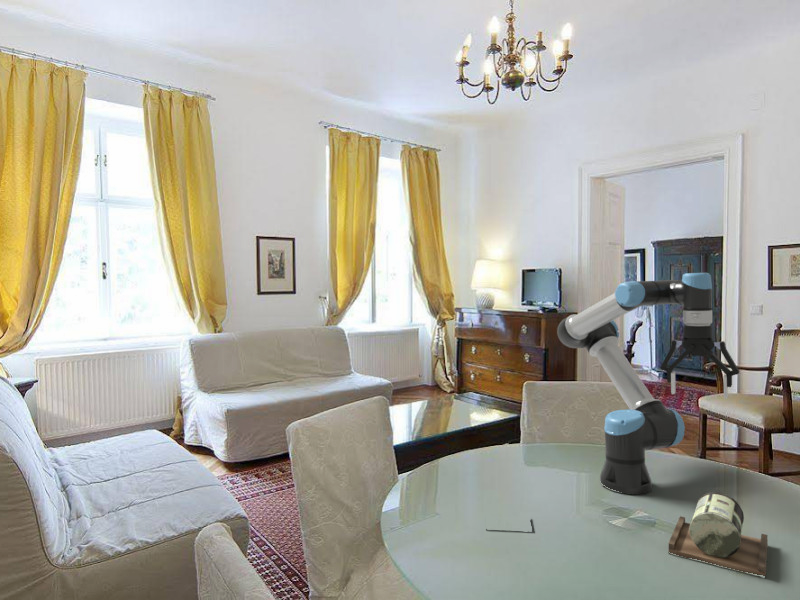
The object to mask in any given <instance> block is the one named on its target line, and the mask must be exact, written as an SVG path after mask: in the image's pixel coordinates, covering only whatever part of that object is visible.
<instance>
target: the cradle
mask: <svg viewBox="0 0 800 600" xmlns="http://www.w3.org/2000/svg"><path fill="white" fill-rule="evenodd" d="M689 528H690V523H689V522H686V517H685V516H681V515H680V516H679V517H678V521H677V522H676V525H675V527H674V530H673V532H672V535H670V539H669V542H668V553H669V552H670V553H673V554H676V555H679V556H683V557H686V558H685V559H687V558H692V559H697V560H701V561H705V562H708V563H712V564H716V565H719V566H723V567H727V568H731V569H735V570H739V571H743V572H748V573H753V574H757V575H763V576H765V575H767V562H766V561H768V560H767V558H768V534H764V533H761V534H760V538H757V537H753V536H748V535H744V534H741V539H740V547H739V549H738V550H737V552H736V553H735V554H733V555H731V556H729V557H723V558H719V557H714V556H711V555H708V554H706V553H705V552H703V551H702V550H700V549H699V548H698V547H697V546H696V545H695V543H694V542H693V540H692V538H691V536H690V532H689ZM679 556H678V557H679ZM683 557H682V558H683Z"/></svg>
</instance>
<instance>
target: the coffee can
mask: <svg viewBox="0 0 800 600" xmlns="http://www.w3.org/2000/svg"><path fill="white" fill-rule="evenodd" d="M744 516H745V515H744V511H743V509H742V507H741V505H740V504H739V503H738V502H737V500H735V499H734V498H733V497H731V496H730V495H727V494H726V493H721V492H718V491H711V492H707V493H705V494H703V495H701V496H700V497H699V498H698V499H697V501H696V505H695V510H694V514H693V515H692V519H691V521H690V523H689V524H690V528H689V532H690V536H691V538H692V540H693V542H694V543H695V545H696V546H697V547H698V548H699V549H700V550H702V551H703V552H705V553H706V554H708V555H711V556H714V557H719V558H723V557H729V556H731V555H733V554H735V553H736V552H737V550H738V549H739V547H740V539H741V535H742V529H743V524H744V519H745V517H744Z"/></svg>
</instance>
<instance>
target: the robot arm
mask: <svg viewBox="0 0 800 600" xmlns="http://www.w3.org/2000/svg"><path fill="white" fill-rule="evenodd" d="M712 284H713V282H712V275H711V274H710V273H709V272H688V273H687V272H686V273H683V274H682V278H681V279H659V280H643V281H642V280H641V281H639V280H638V281H637V280H635V281H634V280H631V281H626V282H621V283H620V284H618V286H617V287H616V289H615V291H614V293H612V294H610V295H608V296H606V297H604V299H601V300H600V301H598V302H596V303H594V304H593V305H591V306H590V307H587V308H586V309H585V310H582V311H581V312H579V313H578V314H576V313H575V314H570V315H568V316H567V317H565V318H564V319H562V320H561V321H560V323H559V324H558V326H557V329H556V330H557V331H556V332H557V333H556V334H557V337H558V340H559V341H560V342H561V343H562V344H563V345H564V346H566V347H567V348H570V349H586V350H587V353H588V354H589V356H591V357H593V358H594V357H595V358H597V360H598V362H599V363H600V365H601V366H602V368H603V369H604V372H606V374H607V376H608V378H609V380H610V381H611V382H612V384H613V385H614V387H615V388H616V390H617V392H618V394H619V395H620V396H621V398H622V400H623V401H624V403H625V404H626V405H627V407H628V408H627V409H617V410H613V411H611V412H609V413H607V414H606V415H605V417H604V418H605V419H604V426H603V427H604V428H603V429H604V442H605V443H604V445H605V447H604V448H605V449H604V450H605V452H604V454H605V461H604V464H603V467H602V468H601V469H602V470H601V473H600V476H599V477H600V479H599V480H600V481H601V483H602V484H603V485H605V486H606V487H608V488H610V489H613V490H616V491H619V492H622V493H621V494H624V493H628V494H627V495H642V494H647V493H650V492H651V491H652V488H653V486H652V483H653V482H652V479H651V476H650V473H649V469H648V468H647V465H646V452H647V451H651V450H658V449H664V448H671V447H672V446H676V445H678V444H680V443H681V442H682V440H683V438H684V436H685V430H686V428H685V422H684V419H683V417H682V415H680V413H679V412H678V411H676V410H673V409H671V408H667V407H666V406H665V405H664V403H663V402H662V400H660V399H656V398H654V396H653V395H652V394H651V392H650V391H649V389H648V388H647V386H646V385H645V384H644V382H643V381H642V378H641V377H640V375H639V374H638V373H637V371H636V370H635V369H634V367H633V366H632V365H631V363H630V361H629V360H628V359H627V357H626V355H625V354H624V352H623V351H622V350H621V348H620V347H619V344H620V339H619V337H620V332H619V327H618V324H617V323H616V322H615V320H617V319H618V318H621V317H623V316H624V315H626V314H628V313H630V312H632V311H634V310H636V309H637V308H640V307H643V306H654V305H655V306H657V305H682V310H683V311H682V317H683V319H682V320H683V321H682V323H683V324H684V325H683V327H682V329H683V332H682V333H683V339H682V340H677V339H672V341H671V343H670V344H671V345H670V349H669V351H668V352H667V354H666V356H665V358H664V360H663V362H662V363H661V364H660V367H659V368H660V370H662V371H664V372H666V381H667V383H670V386H671V387H670V388H671V389H670V390H671V391H670V392H671V393H670V394H671V395H675V394H676V389H677V388H676V371H674V369H676V367H677V366H678V365H680V363H681V362H682V361H683V360H684V359H685V358H686V357H687V356H688V355H690V356H692V357H706V356H707V357H708V358H709V359H710V360H711V361H712V362H713V363H714V364H715V365H716V366H717V367H718V368H719V369H720V370H721V371H722V372H723V373H724V375H723V399H724V400H727V399H728V397H729V395H728V393H729V392H728V388H732V387H733V377H734V376H735V375H739V373H740V369H739V367H738V366H737V364H736V362H735V361H734V360H733V357H732V356H731V355H730V352H729V351H728V349H727V346H726V345H727V344H726V342H725V341H723V340H722V341H718V342H717V341H716V342H715V341H714V340H713V339H714V338H713V337H714V336H713V334H714V333H713V332H714V331H713V326H712V325H711V324H713V307H712V303H713V302H712V301H713V285H712ZM680 346H682V347H683V348H684V352H682V353H681V354H680V356H679V357H678V358H677V359H676V360H675V361H674V362H672V363H671V365H670V366H668V364H669V363H670V361H671V360H672V357H673V355H674V354H675V352H676V351H677V349H678V348H679V347H680ZM715 347H716V348H717V349H718V350H720V352H721V354H722V355H723V357H724V358H725V360H726V362H727V364H728V366H729V367H727V365H726V364H725V363H724V362H723V361H722V360H721V359H720V358H719V357H718V356H717V355H716V354H715V353H714V351H713V348H715ZM729 368H730V369H731V370H730V369H729ZM600 481H599V482H600ZM601 483H600V484H601Z"/></svg>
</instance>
